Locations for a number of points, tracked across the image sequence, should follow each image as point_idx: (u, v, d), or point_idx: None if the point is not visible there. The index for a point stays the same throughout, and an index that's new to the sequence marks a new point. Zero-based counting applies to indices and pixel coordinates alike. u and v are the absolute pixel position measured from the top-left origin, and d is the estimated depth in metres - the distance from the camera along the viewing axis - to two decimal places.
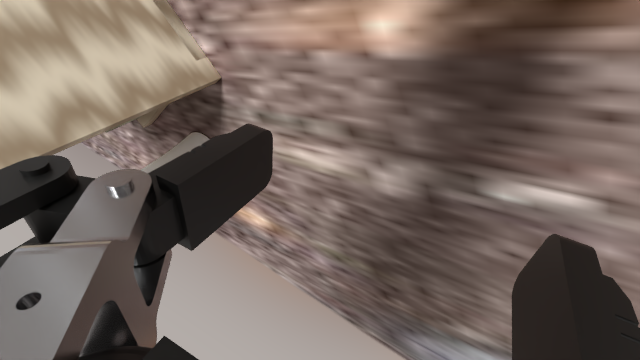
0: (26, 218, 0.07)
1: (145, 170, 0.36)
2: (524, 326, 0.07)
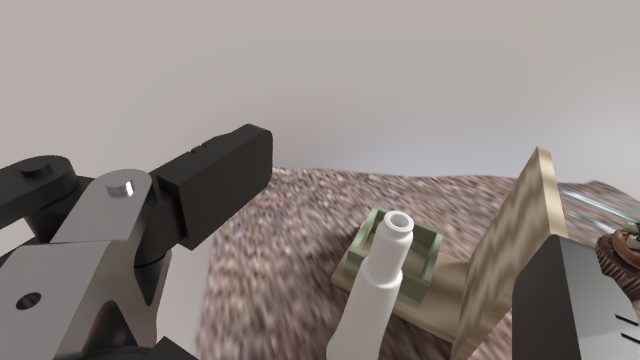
0: (26, 218, 0.07)
1: None
2: (524, 326, 0.07)
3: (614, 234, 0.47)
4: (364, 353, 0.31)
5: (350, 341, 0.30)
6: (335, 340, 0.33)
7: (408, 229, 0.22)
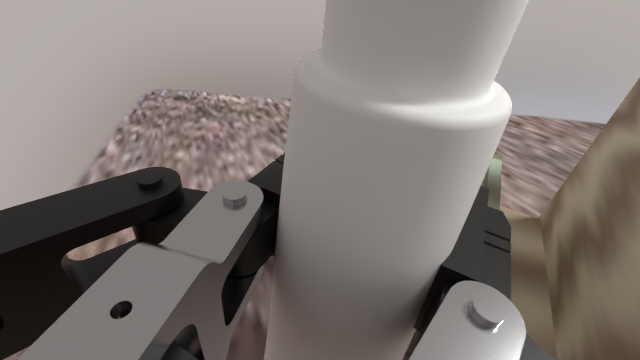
0: (138, 230, 0.07)
1: None
2: None
3: None
4: None
5: None
6: None
7: None
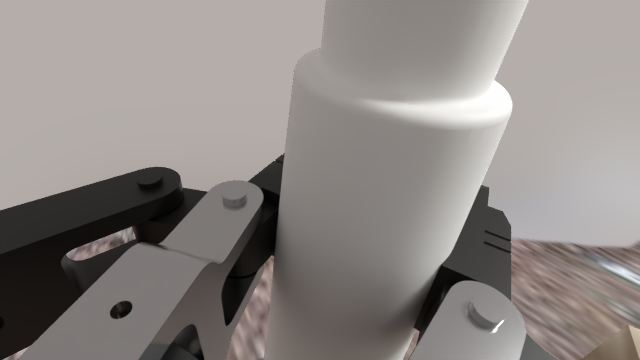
0: (138, 230, 0.07)
1: None
2: None
3: None
4: None
5: None
6: None
7: None
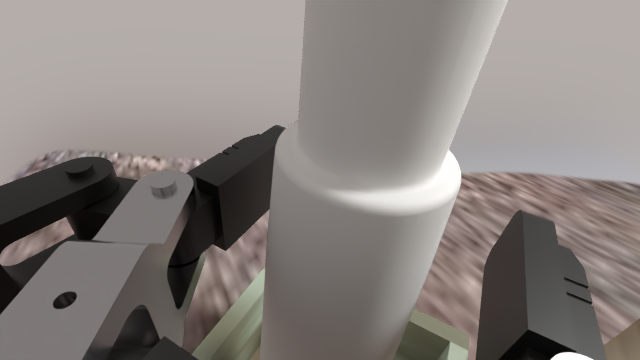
0: (70, 219, 0.07)
1: None
2: (490, 294, 0.07)
3: None
4: None
5: None
6: None
7: None
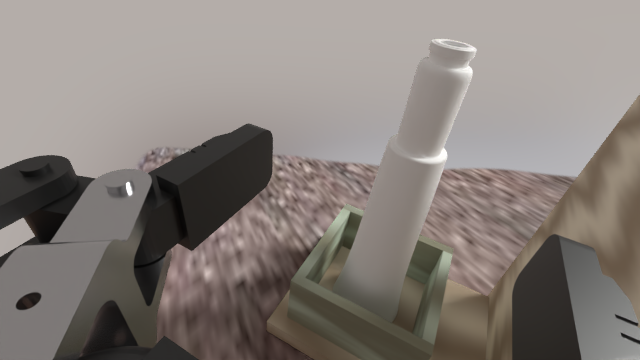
0: (26, 218, 0.07)
1: None
2: (524, 326, 0.07)
3: None
4: (386, 280, 0.23)
5: (368, 263, 0.23)
6: (345, 271, 0.25)
7: (470, 49, 0.15)
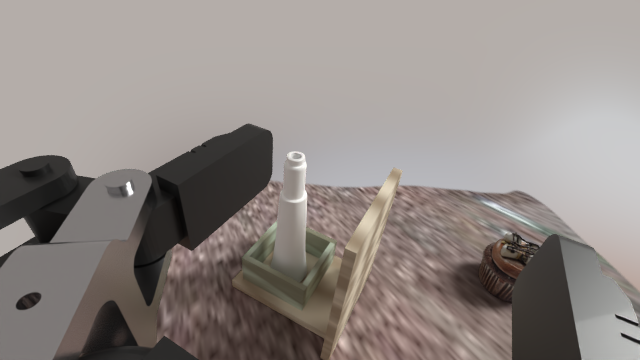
0: (26, 218, 0.07)
1: None
2: (524, 326, 0.07)
3: (495, 243, 0.52)
4: (289, 257, 0.45)
5: (279, 248, 0.45)
6: (273, 253, 0.48)
7: (300, 160, 0.37)
